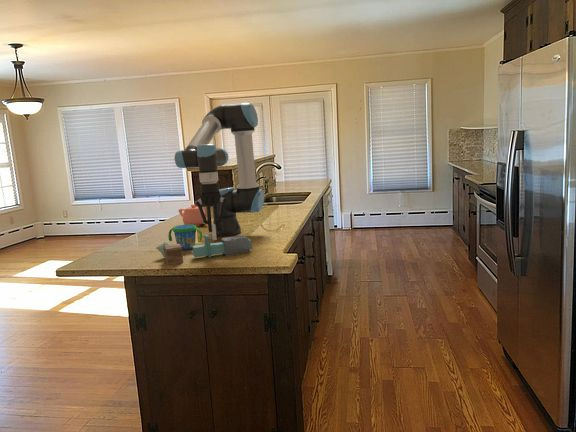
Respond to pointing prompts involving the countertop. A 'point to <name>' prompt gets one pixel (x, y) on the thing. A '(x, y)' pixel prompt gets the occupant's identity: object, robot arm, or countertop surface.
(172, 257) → the socket block
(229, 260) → the countertop surface
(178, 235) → the snack cup
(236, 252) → the sleeve
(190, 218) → the teapot
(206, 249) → the tube
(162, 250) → the robot head
